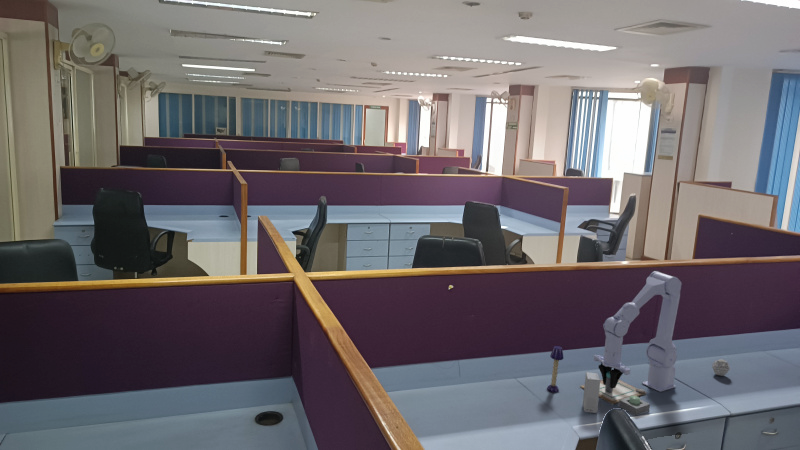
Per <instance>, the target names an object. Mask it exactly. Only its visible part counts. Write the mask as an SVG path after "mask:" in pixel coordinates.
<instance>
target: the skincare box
mask: <svg viewBox="0 0 800 450" xmlns="http://www.w3.org/2000/svg"><path fill="white" fill-rule="evenodd" d="M584 377H585V378H584V379H585V380H584V385H585V386H584V389H583V396H582V397H583V398H582V407H583V411H584V412H585V413H594V414H598V407H599V398H600V397H599V389H600V380H601V378H600V376H599V373H595V372H588V371H587V372H585V376H584Z"/></svg>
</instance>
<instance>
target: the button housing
mask: <svg viewBox="0 0 800 450" xmlns="http://www.w3.org/2000/svg"><path fill="white" fill-rule="evenodd" d="M629 399H630V397H627V398H624V399H620V400H619V403H618V407H619V408H621V409H623V410H624V409H625V410H624V411H627V412H629V413H631V414H632V415H634V416H638V415H641V414H644V413H647V412H650V409H651V408H650V406H651V405H650V403H648V402H646V401H644V400H643V399H640V404H639V405H636V406H635V405H633V404H631V403H629Z"/></svg>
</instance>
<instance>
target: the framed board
mask: <svg viewBox="0 0 800 450" xmlns="http://www.w3.org/2000/svg"><path fill="white" fill-rule="evenodd" d="M579 386H580V389H583V390H584V386H585V384H582V385H579ZM644 395H647V392H646V390H645V389H643V388H638V387H635V386H633V385H630V384H629V383H626V381H625V382H624V381H622V380H621V379H619V380H618V382H617V385H616V388H613V392H612V393H609V392H606V391H605V385H604V384H603V379H600V389H599V398H600V399H602V400H604V401H605V402H608V403H609V404H612V405H615V404H619V400H620V399H624V398H627V397H630V396H637V397H641V396H644Z"/></svg>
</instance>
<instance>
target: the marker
mask: <svg viewBox="0 0 800 450" xmlns="http://www.w3.org/2000/svg"><path fill="white" fill-rule="evenodd" d="M610 381H611V378H610V372H609V371H608V372H607V374H606V385H605V391H606V392H609V393H612V392H613V388H610Z"/></svg>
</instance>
